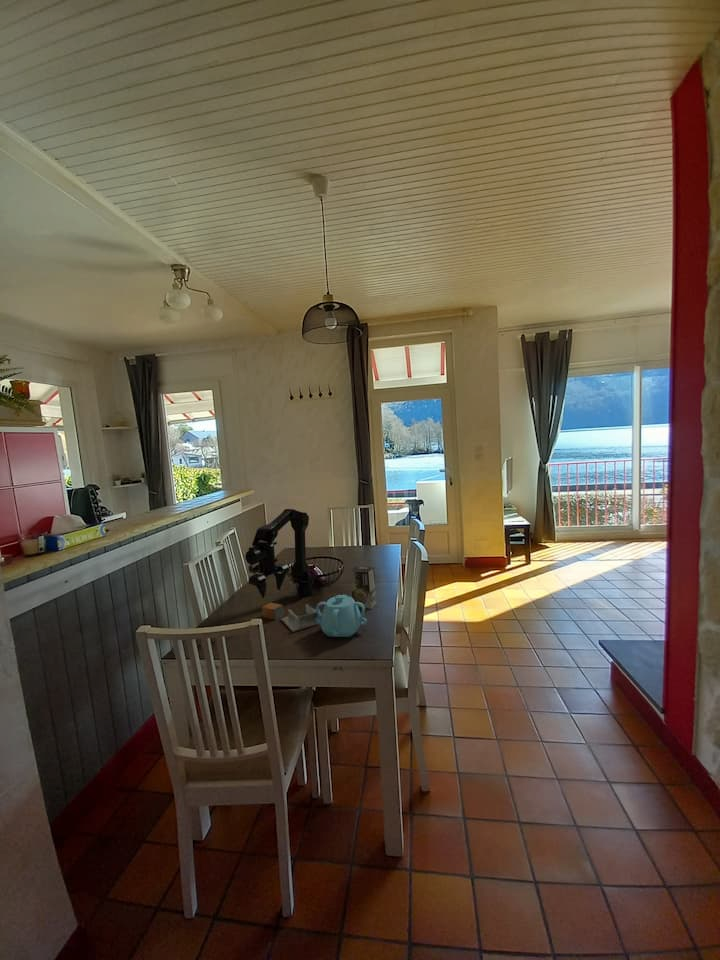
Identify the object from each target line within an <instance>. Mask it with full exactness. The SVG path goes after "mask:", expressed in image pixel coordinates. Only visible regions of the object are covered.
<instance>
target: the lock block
mask: <svg viewBox="0 0 720 960" xmlns="http://www.w3.org/2000/svg"><path fill="white" fill-rule="evenodd" d="M261 611H262V618H263V617H264V619H268V618H269V619H270V620H273V621H277V620H279V618H280V619H281V618H282V617H283V616H284V615H285V613H284V606H283V604H281V603H276V602H275V603H274V602H269V603H267V604H265V605H263V606H262V607H261ZM265 617H266V618H265Z"/></svg>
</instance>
